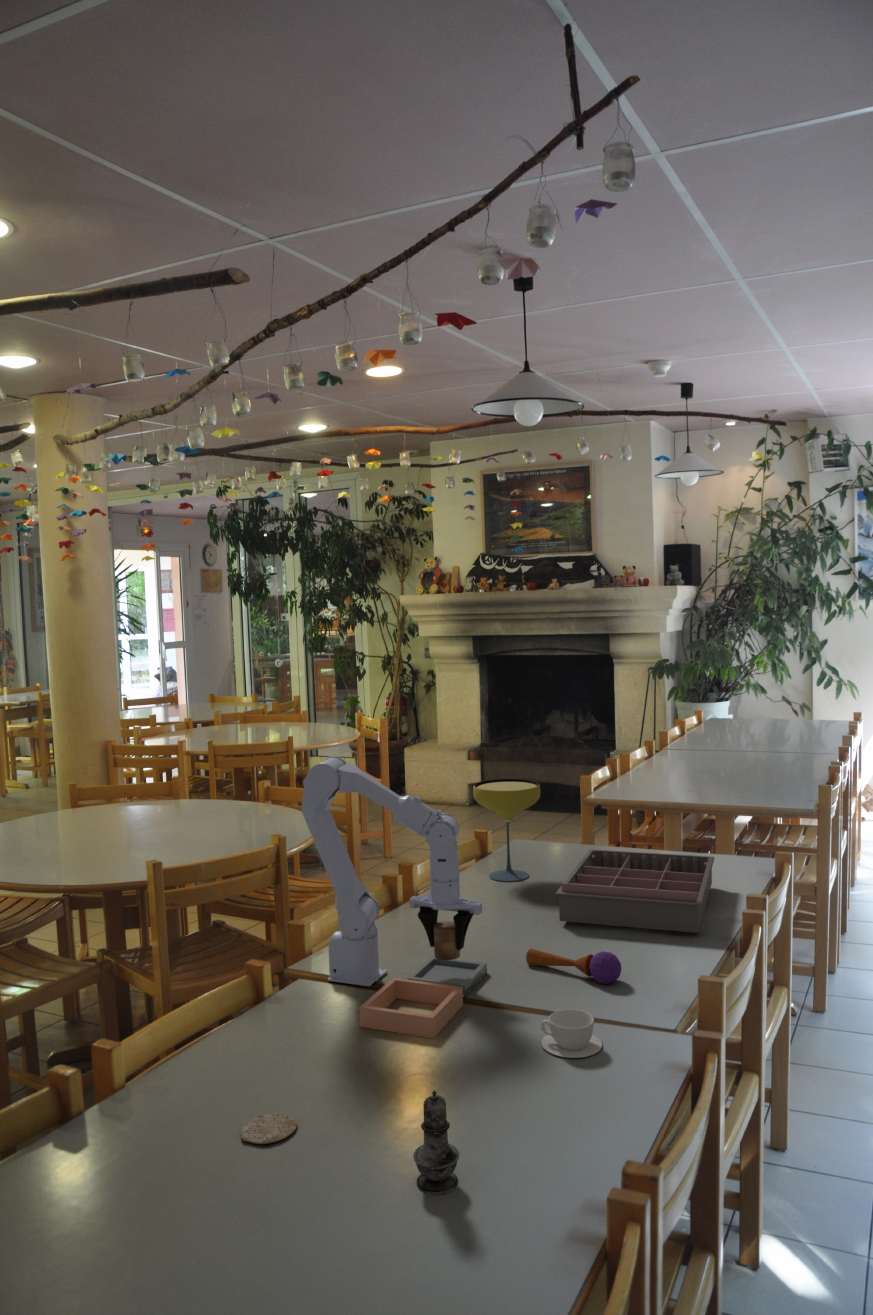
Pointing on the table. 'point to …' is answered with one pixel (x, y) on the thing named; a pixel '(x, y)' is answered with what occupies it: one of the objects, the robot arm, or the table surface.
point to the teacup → (570, 1034)
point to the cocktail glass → (507, 811)
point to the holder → (409, 1022)
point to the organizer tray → (637, 890)
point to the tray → (450, 973)
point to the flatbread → (268, 1128)
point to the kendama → (581, 964)
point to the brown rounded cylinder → (445, 941)
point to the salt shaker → (436, 1150)
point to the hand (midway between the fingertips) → (446, 947)
